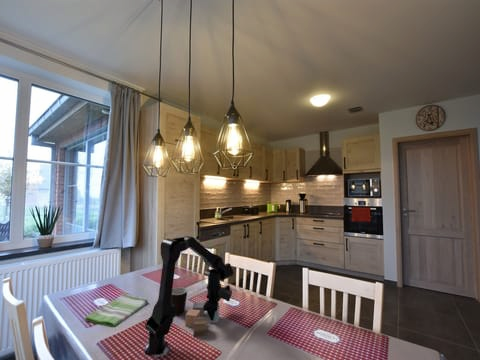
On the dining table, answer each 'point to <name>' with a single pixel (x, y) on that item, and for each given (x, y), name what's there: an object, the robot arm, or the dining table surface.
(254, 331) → the dining table surface
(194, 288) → the dining table surface
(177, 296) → the coffee mug
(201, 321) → the walnut block
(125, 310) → the dish towel
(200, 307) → the grey block
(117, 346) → the dining table surface
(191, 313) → the terracotta block
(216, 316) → the grey cube
